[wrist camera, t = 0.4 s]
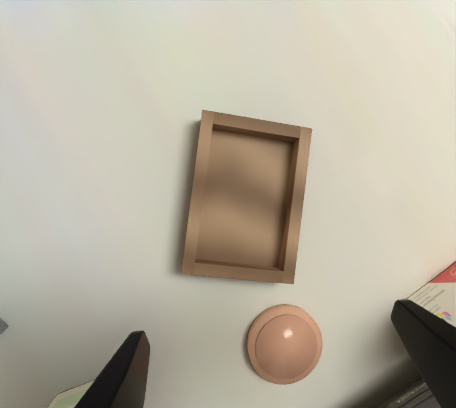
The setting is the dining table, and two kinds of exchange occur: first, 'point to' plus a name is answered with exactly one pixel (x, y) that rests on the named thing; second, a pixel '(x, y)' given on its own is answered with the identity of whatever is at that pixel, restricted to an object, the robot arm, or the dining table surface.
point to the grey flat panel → (2, 326)
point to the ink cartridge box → (439, 295)
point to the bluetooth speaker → (412, 397)
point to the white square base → (70, 397)
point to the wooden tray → (246, 199)
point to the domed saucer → (284, 344)
